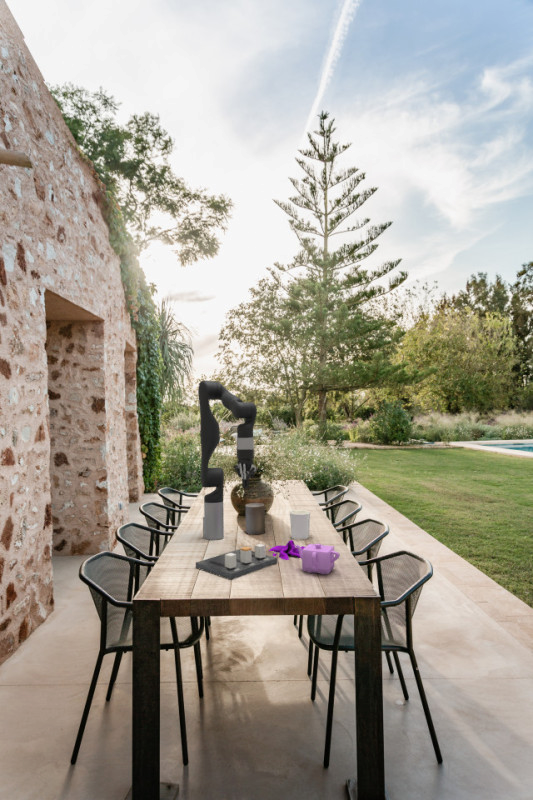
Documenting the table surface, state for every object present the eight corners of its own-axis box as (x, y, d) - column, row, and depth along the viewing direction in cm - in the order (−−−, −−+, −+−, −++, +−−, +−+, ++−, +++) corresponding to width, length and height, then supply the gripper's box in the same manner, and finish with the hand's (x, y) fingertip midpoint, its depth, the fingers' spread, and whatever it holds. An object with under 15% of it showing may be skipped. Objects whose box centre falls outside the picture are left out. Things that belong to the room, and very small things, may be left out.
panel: (195, 567, 187) (195, 562, 187) (242, 553, 205) (242, 548, 205) (231, 579, 173) (230, 573, 173) (277, 562, 192) (277, 557, 192)
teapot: (288, 573, 180) (288, 546, 180) (300, 562, 193) (299, 536, 193) (335, 579, 173) (335, 551, 173) (344, 567, 186) (344, 540, 186)
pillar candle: (268, 531, 242) (268, 501, 242) (259, 535, 233) (258, 504, 234) (251, 529, 246) (251, 499, 247) (242, 533, 238) (241, 503, 238)
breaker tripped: (240, 561, 186) (240, 548, 186) (246, 559, 188) (245, 546, 188) (246, 563, 184) (245, 549, 184) (251, 561, 186) (251, 548, 186)
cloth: (267, 548, 215) (267, 534, 215) (309, 547, 214) (309, 533, 215) (267, 564, 192) (267, 548, 193) (313, 563, 192) (313, 548, 192)
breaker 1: (225, 566, 180) (224, 554, 180) (230, 564, 182) (230, 552, 182) (230, 568, 178) (230, 556, 178) (236, 566, 180) (236, 554, 180)
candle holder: (300, 541, 222) (300, 515, 223) (285, 537, 230) (285, 512, 230) (314, 537, 229) (314, 512, 229) (300, 533, 236) (299, 509, 236)
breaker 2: (254, 556, 192) (254, 545, 192) (260, 555, 194) (260, 543, 194) (260, 558, 190) (260, 546, 190) (265, 556, 192) (265, 545, 192)
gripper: (228, 447, 213) (229, 487, 212) (249, 449, 204) (250, 490, 203) (240, 446, 218) (241, 485, 218) (262, 448, 209) (262, 488, 209)
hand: (245, 487), depth 211 cm, fingers closed
